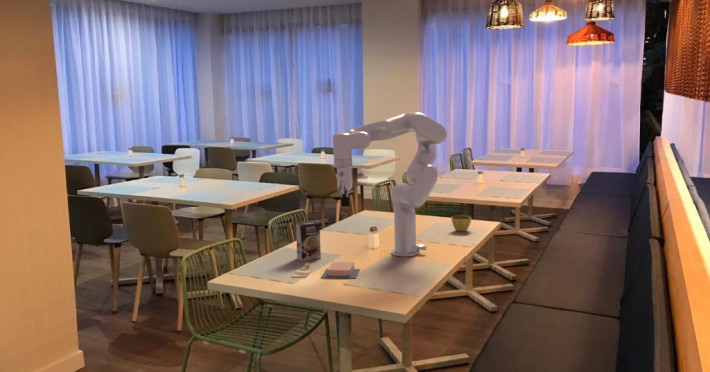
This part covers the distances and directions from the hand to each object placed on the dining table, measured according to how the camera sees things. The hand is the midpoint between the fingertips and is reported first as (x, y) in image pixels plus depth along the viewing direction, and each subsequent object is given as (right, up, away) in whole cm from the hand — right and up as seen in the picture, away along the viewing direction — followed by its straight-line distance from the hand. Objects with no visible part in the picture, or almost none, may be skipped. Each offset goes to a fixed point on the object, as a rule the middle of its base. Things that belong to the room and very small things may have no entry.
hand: (345, 206), depth 251 cm
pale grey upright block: (-1, -24, -4) cm, 24 cm away
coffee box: (-16, -24, +14) cm, 32 cm away
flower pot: (+59, -15, +57) cm, 83 cm away
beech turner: (-17, -27, -6) cm, 32 cm away
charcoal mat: (-2, -27, -10) cm, 29 cm away
